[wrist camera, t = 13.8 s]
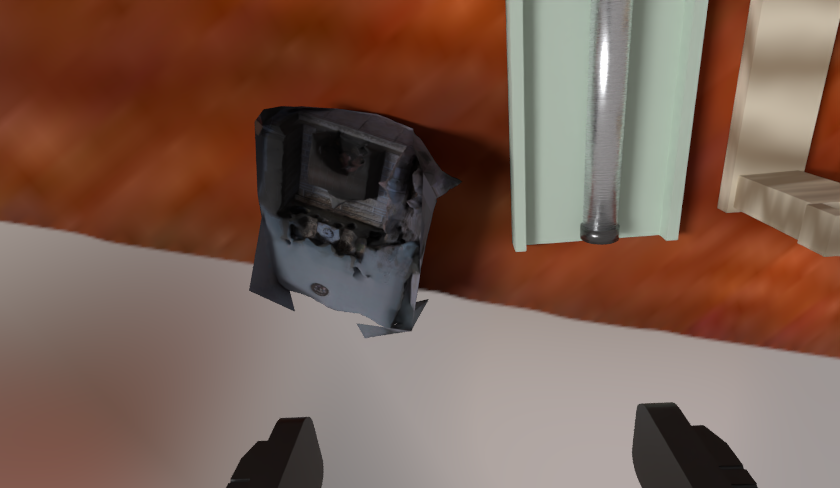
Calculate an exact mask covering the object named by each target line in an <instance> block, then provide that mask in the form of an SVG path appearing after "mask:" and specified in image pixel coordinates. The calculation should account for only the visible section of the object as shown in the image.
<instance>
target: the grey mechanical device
mask: <svg viewBox="0 0 840 488" xmlns="http://www.w3.org/2000/svg"><path fill="white" fill-rule="evenodd" d="M255 140H256V165H257V190H258V199H259V205H260V210H261V215H262V220H261V225H260V231H259V237H258V243H257V248H256V254H255V260H254V266H253V272H252V278H251V283H250V289H249V291H251V292H253V293H256V294H258V295H260V296H262V297H264V298H267V299H269V300H271V301H273V302H275V303H277V304H280V305H282V306H284V307H286V308H288V309H291V310H293V311H295V310H294V306H293V302H292V298H291V294H290V291H293V292H297V293H301V294H304V295H306V296H309V297H311V298H313V299H315V300H316V301H318V302H320V303H322V304H324V305H325V306H326V307H328V308H331V309H334V310H337V311H344V312H352V313H360V314H361V315H364V316H366V317H368V318H370V319H371V320H373V321H375V322H376V323H377V324H379V325H382V326H383V327H378V326H370V325H363V324H357V325H358V327H359V328H360V330H361V332H362V334H363V336H364V337H365V338H369V337H375V336H381V335H387V334H393V333H400V332H407V331H412V328H413V326H414V324H415V323H416V321H417V319H418V317H419V316H420V314H421V312H422V310H423V308H424V307H425V305H426V303H427V301H428V299H427V300H423V301H419V302H416V298H417V292H418V285H419V279H420V272H421V266H422V260H423V256H424V251H425V246H426V240H427V237H428V232H429V228H430V224H431V220H432V215H433V211H434V207H435V205H436V202H437V200H436V199H437V198H438V197H440V196H442V195H443V194H445V193H447V191H448V190H449V189H452V188H454V187H455V186H457V185H458V184H460V183H461V182H462V181H460V180H459V179H457V178H454V177H451V176H450V175H448V174H446V173H445V172H443V171H442V170H441V169H440V167H439V166H438V164H437V163H436V162H435V161H434V159H433V157H432V156H431V154H430V153H429V151H428V149H427V148H426V146H425V145H424V143H423V142H422V140H421V139H420V138H419V137H418V136H416V134H415V133H414V131H413V129H412V128H410V127H407V126H405V125H402V124H400V123H397V122H395V121H393V120H391V119H388V118H386V117H383V116H381V115H378V114H371V113H364V112H357V111H350V110H343V109H332V108H317V107H303V106H300V107H287V106H280V107H275V108H269V109H264V110H263V111H262V112H261V114H260V115H259V116H258V118H257V119H256V121H255ZM396 323H397V324H396ZM395 324H396V325H395Z"/></svg>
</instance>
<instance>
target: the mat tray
mask: <svg viewBox="0 0 840 488" xmlns="http://www.w3.org/2000/svg"><path fill="white" fill-rule="evenodd" d="M707 8H708V0H633V12H632V26H631V40H630V55H629V69H628V83H627V97H626V111H625V126H624V140H623V154H622V168H621V182H620V197H619V211H618V224H619V225H620V231H619V238H624V237H637V236H650V235H660V236H661V237H663V238H664V239H665V240H666V241H668V240H678V234H679V226H680V218H681V210H682V202H683V195H684V187H685V179H686V171H687V164H688V156H689V148H690V140H691V132H692V125H693V117H694V109H695V101H696V93H697V86H698V78H699V70H700V62H701V55H702V47H703V39H704V31H705V23H706V16H707ZM590 16H591V0H506V30H507V66H508V103H509V139H510V175H511V212H512V243H513V246H514V249H515V251H516V252H521V251H526V245H532V244H545V243H558V242H571V241H583V240H581V239H580V224H581V223H582V222H583V200H584V174H585V147H586V121H587V95H588V68H589V42H590Z"/></svg>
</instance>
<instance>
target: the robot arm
mask: <svg viewBox="0 0 840 488" xmlns="http://www.w3.org/2000/svg"><path fill="white" fill-rule="evenodd" d="M632 457H633V464H634V468H635V472H636V475H637V478H638V480H639V482H640V484H641V486H642V488H758V487H757V485H756V484H757V483H756V482H755V481H754V479H753V478H752V477H751V476H750V474H749V473H748V471H747V470H744V468H743V465H742V463H741V462H740V461H739V459H738V458H737V456H736V455H735V454H734V452H733V451H732V450H731V448H730V447H729V446H728V444H727V443H726V442H724V441H723V440H722V439H721V438H719V437H718V436H717V435H715V434H714V433H713V432H712V431H710V430H709V429H708V428H706V427H705V426H703V425H699V426H691V425H690V423H689V422H688V420H687V419H686V417H685V416H684V414H683V413H682V411H681V410H680V409H679V407H678V406H677V405H676V404H675V403H672V402H671V403H647V404H639V405H638V406H637V411H636V419H635V429H634V438H633V448H632ZM322 480H323V460H322V455H321V452H320V448H319V444H318V440H317V436H316V432H315V428H314V425H313V421H312V419H311V418H310V417H298V418H280V419H279V420H278V421H277V423H276V425H275V427H274V429H273V431H272V433H271V435H270V438H269V440H268V441H258V442H257V443H256V444H255V445H254V446H253V447H252V448H251V449H250V450H249V451H248V452H247V453H246V454H245V455H244V456H243V457H242V458H241V460H240V462H239V464H238V466H237V468H236V470H235V472H234V474H233V475H232V477H231V482H230V483H228V485H227V487H226V488H321V486H322Z"/></svg>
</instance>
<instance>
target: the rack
mask: <svg viewBox="0 0 840 488" xmlns="http://www.w3.org/2000/svg"><path fill="white" fill-rule="evenodd" d="M839 20H840V0H751V2H750V8H749V15H748V21H747V27H746V33H745V40H744V46H743V52H742V58H741V64H740V71H739V77H738V83H737V89H736V95H735V102H734V108H733V114H732V120H731V126H730V133H729V139H728V145H727V151H726V158H725V164H724V170H723V176H722V182H721V189H720V195H719V201H718V207H717V208H719V209H720V210H722V211H724V212H726V213H731V212H744V213H746V214H748V215H750V216H752V217H754V218H756V219H758V220H760V221H762V222H764V223H766V224H768V225H770V226H771V227H773V228H775V229H777V230H779V231H781V232H783V233H785V234H787V235H789V236H791V237H793V238H795V239H797V240H798V243H799V244H801V245H803V246H804V247H806V248H808V249H810V250H812V251H814V252H816V253H818V254H820V255H822V256H824V257H828V256H840V183H839V182H835V181H832V180H829V179H825V178H822V177H819V176H816V175H812V174H809V173H806V172H804V170H805V166H806V162H807V158H808V153H809V149H810V145H811V140H812V136H813V132H814V127H815V123H816V119H817V115H818V110H819V106H820V102H821V97H822V93H823V89H824V85H825V80H826V76H827V72H828V67H829V63H830V59H831V54H832V50H833V46H834V42H835V37H836V33H837V29H838V24H839Z"/></svg>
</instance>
